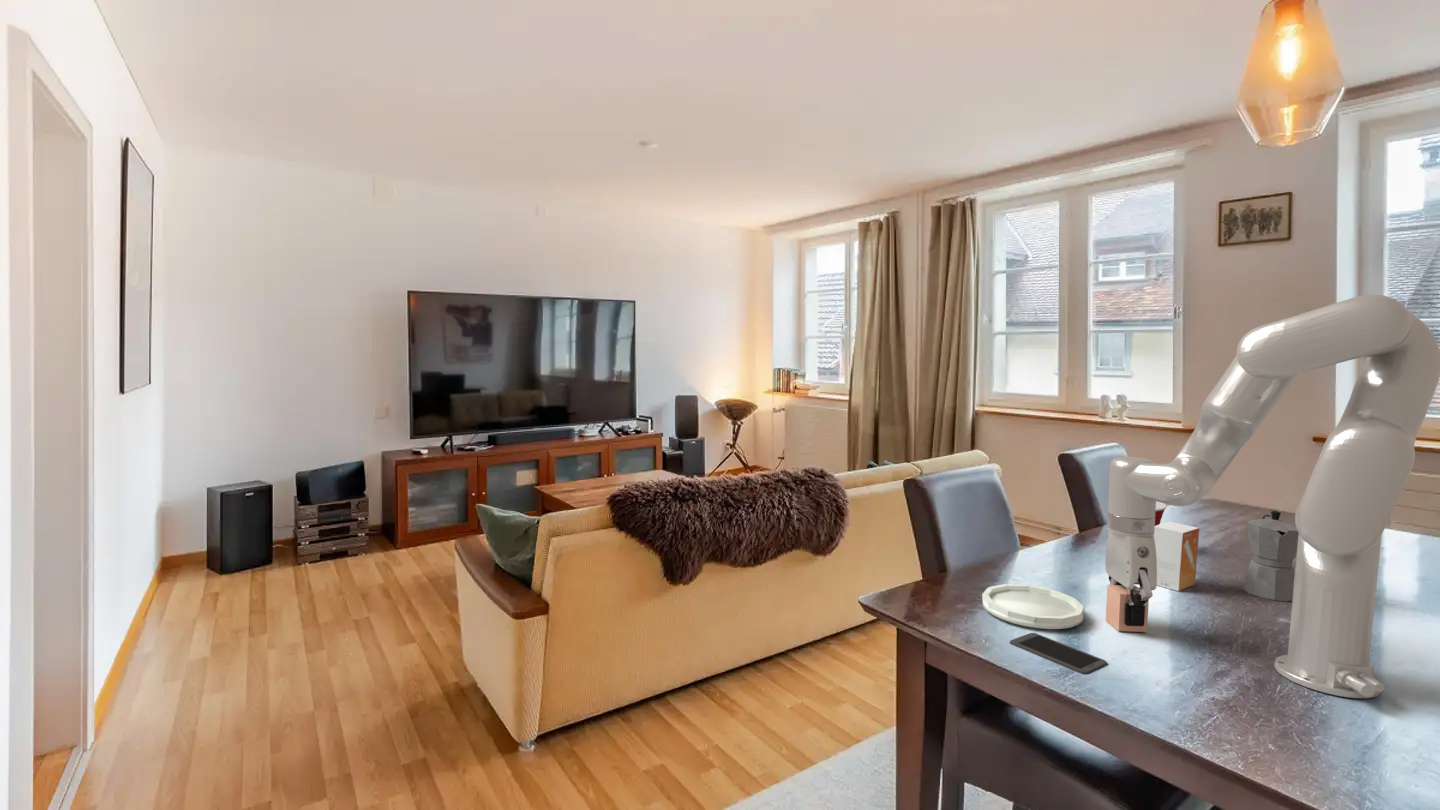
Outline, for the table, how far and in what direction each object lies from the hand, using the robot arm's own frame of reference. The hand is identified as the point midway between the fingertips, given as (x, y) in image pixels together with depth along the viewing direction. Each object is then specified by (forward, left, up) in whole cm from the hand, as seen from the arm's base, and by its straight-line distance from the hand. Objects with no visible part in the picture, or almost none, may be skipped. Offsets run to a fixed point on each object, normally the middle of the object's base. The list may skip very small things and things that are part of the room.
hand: (1126, 618), depth 127 cm
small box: (+25, -22, -2) cm, 33 cm away
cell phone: (-12, +17, -2) cm, 21 cm away
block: (0, 0, -2) cm, 2 cm away
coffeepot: (+22, -40, -2) cm, 46 cm away
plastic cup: (+53, -29, -2) cm, 60 cm away
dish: (+5, +15, -2) cm, 16 cm away
